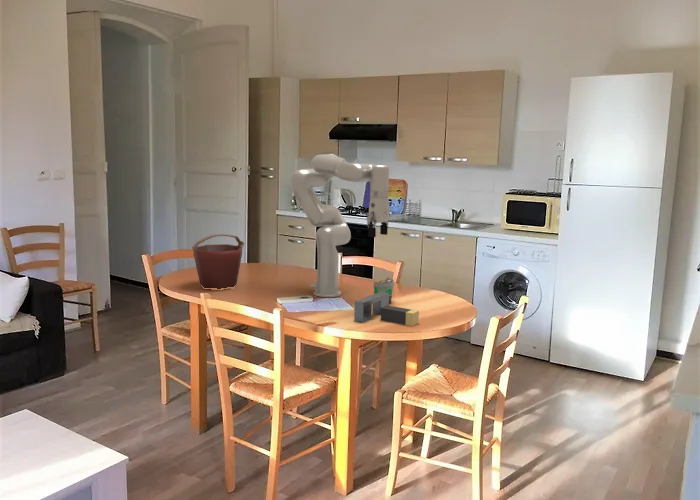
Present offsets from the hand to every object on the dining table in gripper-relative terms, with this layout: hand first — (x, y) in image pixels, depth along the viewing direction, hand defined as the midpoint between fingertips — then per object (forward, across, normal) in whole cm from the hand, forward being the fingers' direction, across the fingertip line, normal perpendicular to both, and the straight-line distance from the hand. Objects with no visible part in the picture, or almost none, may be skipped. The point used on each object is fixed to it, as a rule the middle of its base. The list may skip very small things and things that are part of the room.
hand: (377, 235), depth 259 cm
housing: (+30, -15, -7) cm, 35 cm away
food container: (+31, +7, -1) cm, 31 cm away
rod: (+30, -15, -20) cm, 39 cm away
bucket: (+31, -15, +77) cm, 84 cm away
